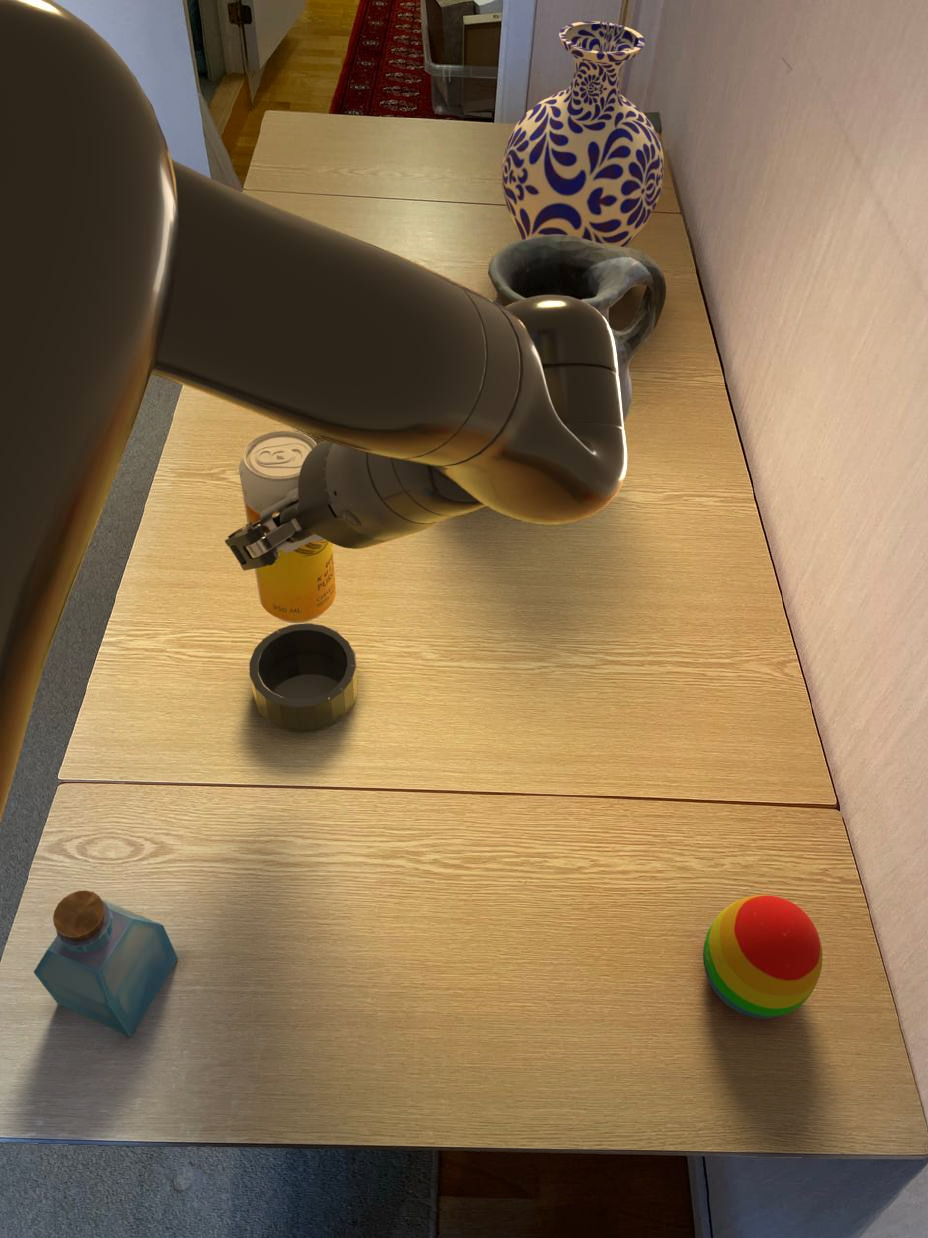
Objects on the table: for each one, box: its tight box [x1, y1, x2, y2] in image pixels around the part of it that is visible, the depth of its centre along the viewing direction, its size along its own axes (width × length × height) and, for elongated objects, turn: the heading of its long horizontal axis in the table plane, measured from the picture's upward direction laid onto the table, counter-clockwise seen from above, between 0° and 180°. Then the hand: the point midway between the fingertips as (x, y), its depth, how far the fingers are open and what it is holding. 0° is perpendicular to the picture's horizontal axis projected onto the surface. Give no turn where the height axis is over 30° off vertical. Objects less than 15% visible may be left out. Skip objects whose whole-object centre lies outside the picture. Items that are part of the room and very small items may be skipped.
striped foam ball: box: [702, 894, 823, 1019], centre depth 71 cm, size 8×8×10 cm
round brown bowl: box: [248, 622, 358, 734], centre depth 89 cm, size 9×9×4 cm
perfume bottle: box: [33, 889, 179, 1038], centre depth 68 cm, size 6×6×12 cm
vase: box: [501, 20, 665, 247], centre depth 130 cm, size 22×22×30 cm
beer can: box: [238, 429, 337, 624], centre depth 74 cm, size 6×6×15 cm
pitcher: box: [487, 234, 667, 424], centre depth 104 cm, size 21×22×25 cm
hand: (275, 522), depth 75 cm, fingers closed on beer can, 6 cm apart
